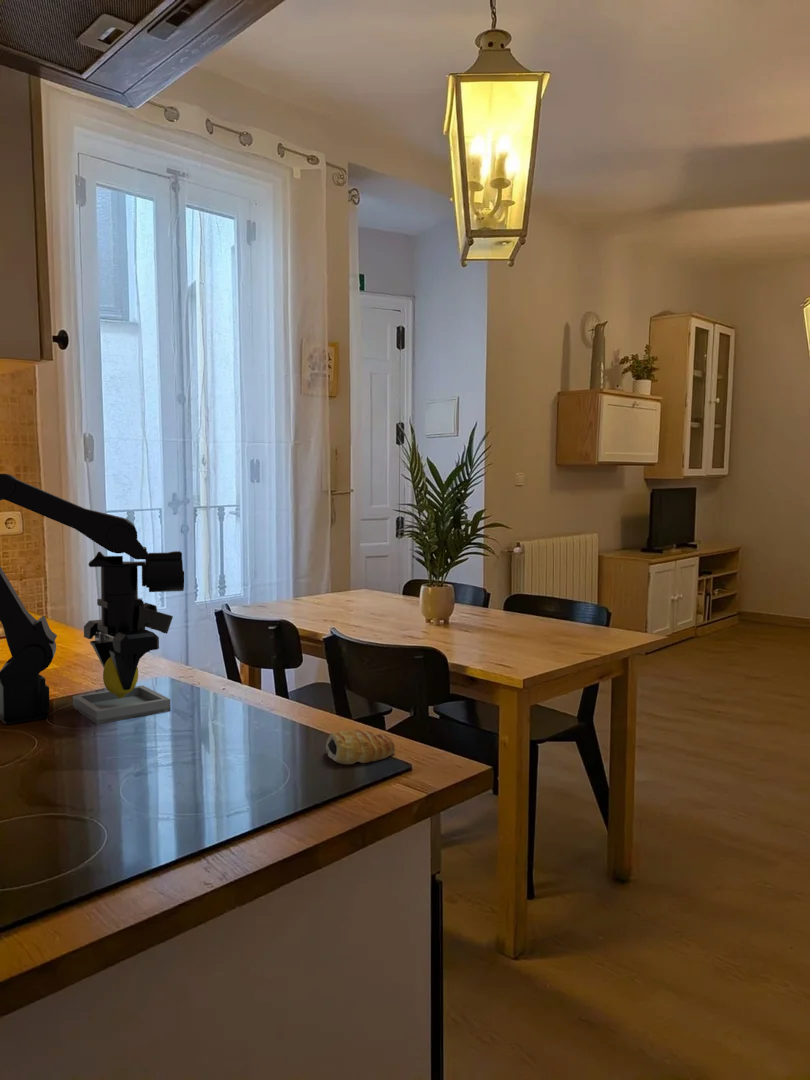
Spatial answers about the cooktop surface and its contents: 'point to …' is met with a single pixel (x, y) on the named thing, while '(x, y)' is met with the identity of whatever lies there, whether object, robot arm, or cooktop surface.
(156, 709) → the dish
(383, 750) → the pastry
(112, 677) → the lemon
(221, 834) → the cooktop surface
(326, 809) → the cooktop surface
